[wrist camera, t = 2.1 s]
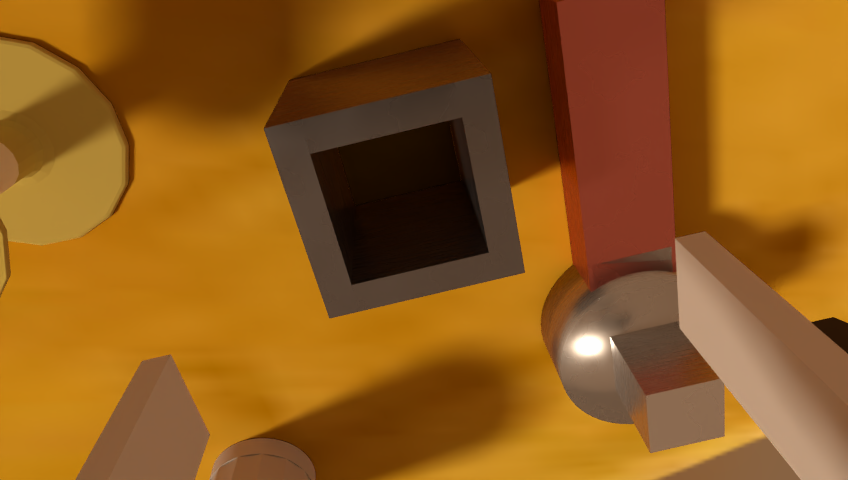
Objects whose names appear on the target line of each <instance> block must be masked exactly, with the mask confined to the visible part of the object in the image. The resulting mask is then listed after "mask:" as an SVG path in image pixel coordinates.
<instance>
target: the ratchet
mask: <svg viewBox="0 0 848 480" xmlns="http://www.w3.org/2000/svg"><path fill="white" fill-rule="evenodd" d="M539 5H540V13H541V21H542V28H543V36H544V44H545V51H546V59H547V67H548V75H549V82H550V90H551V98H552V105H553V113H554V121H555V129H556V136H557V144H558V152H559V159H560V167H561V175H562V182H563V190H564V198H565V206H566V213H567V221H568V229H569V236H570V244H571V252H572V260H573V264H574V265H572V266H571V267H570V268H569V269H568V270H567V271H565V272H564V273H563V275H562V276H561V277H560V278H559V279H558V280H557V281H556V283H555V284H554V286H553V287H552V288H551V290H550V292H549V294H548V296H547V298H546V301H545V303H544V306H543V310H542V315H541V331H542V336H543V340H544V342H545V345H546V347H547V349H548V352H549V354H550V356H551V358H552V361H553V363H554V365H555V368H556V370H557V372H558V374H559V377H560V379H561V381H562V384H563V386H564V388H565V390H566V393H567V394H568V396H569V397H570V399H571V400H572V401H573V402H574V403H575V405H576V406H577V407H579V408H580V409H581V410H582V411H584V412H585V413H587V414H589V415H590V416H592V417H595V418H597V419H600V420H603V421H607V422H612V423H619V424H635V426H636V428H637V430H638V431H639V433H640V435H641V437H642V439H643V441H644V442H645V444H646V446H647V448H648V450H649V452H650V453H653V452H657V451H662V450H666V449H670V448H675V447H679V446H684V445H688V444H692V443H697V442H701V441H706V440H710V439H715V438H719V437H723V436H725V435H724V383H723V382H722V380H721V379H720V378H719V377H718V375H717V374H716V373H715V372H714V370H713V369H712V368H711V367H710V365H709V364H708V363H707V362H706V360H705V359H704V358H703V357H702V356H701V354H700V353H699V352H698V351H697V349H696V348H695V347H694V346H693V344H692V343H691V342H690V341H689V339H688V338H687V337H686V336H685V334H684V333H683V332H682V331H681V329H680V326H679V307H678V288H677V269H676V250H675V222H674V200H673V177H672V155H671V132H670V110H669V87H668V64H667V42H666V19H665V0H539Z"/></svg>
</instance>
